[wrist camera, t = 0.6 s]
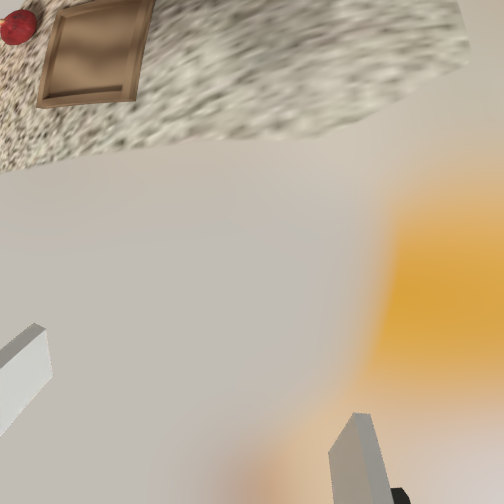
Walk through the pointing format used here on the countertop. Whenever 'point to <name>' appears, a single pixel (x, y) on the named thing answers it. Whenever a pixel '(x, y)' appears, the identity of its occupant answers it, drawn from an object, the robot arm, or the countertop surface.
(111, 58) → the tray
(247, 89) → the countertop surface
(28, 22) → the red fruit
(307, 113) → the countertop surface
